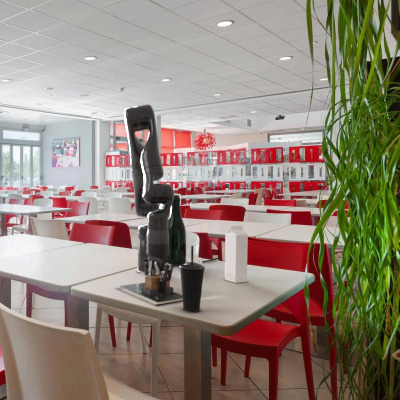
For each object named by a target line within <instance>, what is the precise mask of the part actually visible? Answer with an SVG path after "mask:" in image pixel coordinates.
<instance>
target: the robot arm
mask: <svg viewBox="0 0 400 400" xmlns="http://www.w3.org/2000/svg"><path fill="white" fill-rule="evenodd" d="M123 118H124V125H125V131H126V132H125V133H126V136H127V137H126V138H127V141H128V149H129V161H130V171H131V177H132V184H133V196H134V199H133V200H134V211H135V212H134V213H135V214H136V216H137V217H140V218H147V223H144V224H140V225H139V226H138V228H137V232H138V233H137V265H136V267H137V273H144V276H152V275H158V276H159V280H160V282H159V292H160V293H165V292H166V282H167V281H170V282H171V280H172V275H173V270H174V267H179V266H180V265H181V264H175V265H173V264H169V263H167V259H166V257H167V256H168V255H169V232H168V219H169V217H170V212H171V205H172V202H173V198H174V195H175V191H174V188H173V186H172V185H171V184H170V183H154V182H156V181H159V180H161V179H162V178H164V175H165V174H164V173H165V172H164V167H163V163H162V159H161V155H160V147H159V136H158V129H157V120H156V114H155V110H154V108H153V106H152V105H151V104H141V105H136V106H131V107H127V108H125V109H124V111H123ZM143 131H148V132H147V133H148V135H147V139H146V142H145V144H143V143H142V142H141V141H140V139H139V137H138V136H137V134H136V132H143ZM219 259H220V257H214V258H211V259H205V260H202V264H203V263H208V262H212V261H216V260H219ZM183 264H184V263H183ZM162 275H163V278H162ZM167 275H168V277H167Z"/></svg>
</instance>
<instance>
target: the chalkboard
mask: <svg viewBox="0 0 400 400" xmlns="http://www.w3.org/2000/svg"><path fill="white" fill-rule="evenodd" d="M118 287H119V288H122V289H124V290H127V291H128V292H131V293H134V294H136V295H139V296H141V297H142V298H146V299H147V300H150V301H152V302H155V303H157V304H155V306H156V307H159V306H165V305H166V306H167V305H172V304H177V303H183V297H182V293H181V294H180V293H178V292H176V291H173V293H172V294H165V295H159V296H153V297H149V296H147V295H144V294H142V293H141V288H143V287H145V282H140V283H133V284H124V285H119V286H118ZM180 299H181V300H180Z"/></svg>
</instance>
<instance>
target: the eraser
mask: <svg viewBox="0 0 400 400" xmlns="http://www.w3.org/2000/svg"><path fill="white" fill-rule="evenodd" d="M167 277H168V275H167ZM162 278H163V275H162ZM159 282H160V280H159V276H158V275H157V274H156V275H152V276H147V275H144V283H145V287H143V288H141V293H142V294H144V295H147V296H149V297H153V296H159V295H165V294H172V293H173V292H174V287H173V286H171V280H170V281H167V282H166V292H165V293H160V292H159Z"/></svg>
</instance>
